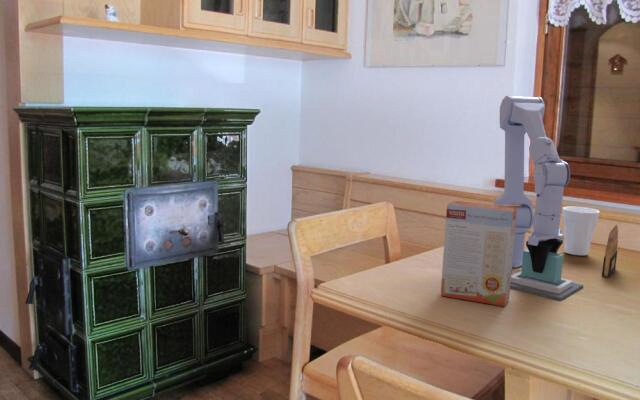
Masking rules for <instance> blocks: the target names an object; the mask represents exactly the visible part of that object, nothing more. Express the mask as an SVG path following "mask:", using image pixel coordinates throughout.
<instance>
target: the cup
mask: <svg viewBox="0 0 640 400" xmlns="http://www.w3.org/2000/svg"><path fill="white" fill-rule="evenodd" d="M561 214H562V217H563V235H564V237H563V242H564V253H566V254H570V255H573V256H587V255H588V254H589V251H590V247H591V244H592V241H593V238H594V233H595V229H596V227H597V223H598V219H599V217H600V210H598V209H595V208H593V207H592V208H591V207H585V206H571V205H570V206H568V205H567V206H562V208H561Z"/></svg>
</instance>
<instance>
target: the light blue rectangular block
mask: <svg viewBox="0 0 640 400" xmlns="http://www.w3.org/2000/svg"><path fill="white" fill-rule="evenodd" d="M563 262H564V254H561V253H558V252H557V253H552V252H549V254H548V256H547V259H546V263H545V267H544V270H543V273H538V272H533V268H532V262H531V256H530V253H529V250H528V248H526V249H524V251H523V259H522V266H521V271H520V272H521V275H522V276H526V277H531V278H535V279H539V280H544V281H548V282H552V283H555V282H557V281H559V280H561V278H562V272H563V264H564V263H563Z"/></svg>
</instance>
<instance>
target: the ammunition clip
mask: <svg viewBox="0 0 640 400" xmlns="http://www.w3.org/2000/svg"><path fill="white" fill-rule="evenodd" d="M618 237H619V228H618V225H617V224H615V226H614V227H612V229H611V230H610V232H609V234H608V238H607V241H606V242H607V243H606V245H605V252H604V256H603V264H602V271H601V277H602V278H603V277H604V278H609V279H610V278H611V277H612V274H613V273H614V272H615V270H616V267H617V257H618V242H619V241H618V240H619V239H618Z"/></svg>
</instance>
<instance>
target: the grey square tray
mask: <svg viewBox="0 0 640 400" xmlns="http://www.w3.org/2000/svg"><path fill="white" fill-rule="evenodd" d="M583 288H584V285H583V284H579V283H577V282H574V281H573V280H570V279H565V278H562V277H561V280H559V281H557V282H555V283H552V282H548V281H544V280H539V279H535V278H531V277H526V276H522V275H521V271H519V272H516V273H514V274H511V283H510V289H512V290H517V291H520V292H525V293H528V294H531V295H532V294H533V295H537V296H541V297H545V298H548V299H551V300H552V299H553V300H556V301H560V302H561V301H563V300H564V299H566V298H567V297H570V296H571V295H573V294H574V293H576V292H578V291H579V290H581V289H583Z"/></svg>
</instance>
